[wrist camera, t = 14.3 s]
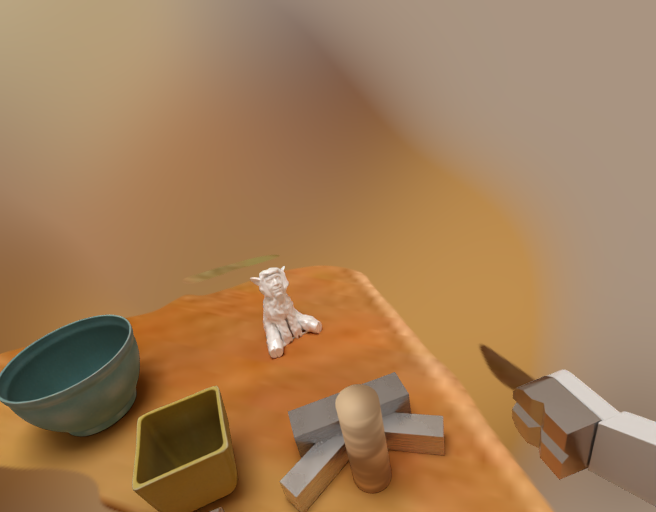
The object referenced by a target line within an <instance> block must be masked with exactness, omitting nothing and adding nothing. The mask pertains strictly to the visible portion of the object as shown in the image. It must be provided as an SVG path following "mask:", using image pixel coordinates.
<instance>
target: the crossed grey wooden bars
mask: <svg viewBox="0 0 656 512" xmlns="http://www.w3.org/2000/svg"><path fill="white" fill-rule="evenodd" d="M362 385H367V386H369V387H371V388H373V389H374V390H375V391H376V393H377V394H378V397H379V402H380V408H381V414H382V419H383V425H384V431H385V437H386V443H387V449H388V450H396V451H406V452H416V453H426V454H435V455H445V451H444V424H443V416H434V415H420V414H411V409H410V401H409V394H408V392H407V391H406V389H405V387H404V386H403V384H402V383H401V381H400V379H399V378H398V376H397V375H396V373H395V372H394V373H391V374H389V375H386V376H383V377H381V378H378V379H375V380H372V381H370V382H367V383H364V384H362ZM338 394H339V393H337V394H335V395H332V396H329V397H327V398H324V399H321V400H318V401H316V402H313V403H310V404H308V405H305V406H302V407H300V408H297V409H294V410H291V411H289V412H288V414H289V418H290V422H291V426H292V430H293V434H294V438H295V441H296V444H297V447H298V450H299V452H300V455H301V459H300V460H299V462H298V463H297V464H296V465H295V466H294V467H293V468H292V469H291V470H290V471H289V472H288V473H287V474H286V475H285V476H284V477H283V478H282V480H281V481H280V484H281V486H282V488H283V491H284V493H285V496H286V498H287V499H288V500H289V501H290V502H291V503H292V504H293V505H294V506H295V507H296V508H297V509H298V510H299V511H300V512H306V511H307V509H308V508H309V507H310V506H311V505H312V504H313V502H314V501H315V500H316V499H317V498H318V496H319V495H320V494H321V493H322V492H323V491H324V489H325V488H326V487H327V486H328V485H329V483H330V482H331V481H332V480H333V479H334V478H335V476H336V475H337V474H338V473H339V472H340V470H341V469H342V468H343V467H344V466H345V465H346V463H347V462H348V461H349V458H348V454H347V450H346V446H345V442H344V438H343V434H342V430H341V426H340V422H339V418H338V414H337V410H336V406H335V402H336V398H337V396H338Z"/></svg>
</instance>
